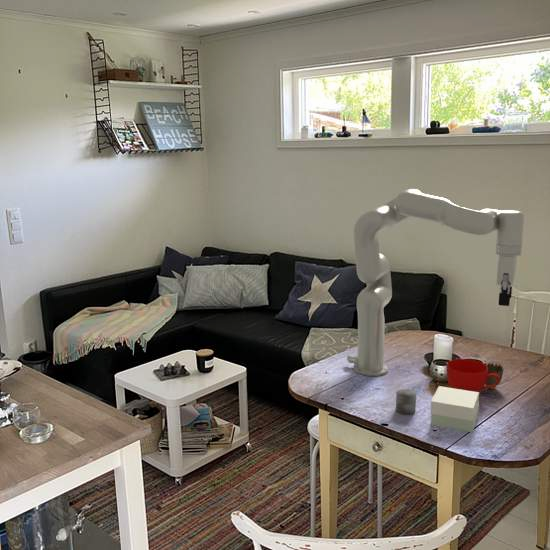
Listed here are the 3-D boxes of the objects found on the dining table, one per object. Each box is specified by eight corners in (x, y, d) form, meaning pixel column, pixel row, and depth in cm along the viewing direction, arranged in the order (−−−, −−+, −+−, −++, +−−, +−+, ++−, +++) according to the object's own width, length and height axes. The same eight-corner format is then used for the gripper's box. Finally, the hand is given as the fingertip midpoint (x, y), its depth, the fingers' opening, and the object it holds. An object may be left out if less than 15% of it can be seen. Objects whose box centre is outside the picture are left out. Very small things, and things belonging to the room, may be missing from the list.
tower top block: (430, 413, 178) (430, 401, 177) (438, 397, 188) (439, 386, 187) (472, 421, 173) (473, 408, 172) (478, 404, 183) (479, 392, 182)
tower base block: (430, 425, 179) (431, 413, 178) (438, 409, 189) (439, 397, 188) (472, 433, 174) (473, 421, 173) (478, 416, 184) (479, 404, 183)
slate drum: (393, 413, 186) (394, 395, 185) (398, 405, 192) (399, 387, 190) (412, 416, 184) (413, 398, 183) (417, 408, 189) (418, 390, 188)
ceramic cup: (493, 408, 188) (495, 378, 186) (440, 397, 197) (441, 368, 195) (502, 393, 199) (504, 365, 197) (451, 383, 208) (453, 356, 206)
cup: (503, 394, 199) (505, 371, 197) (480, 392, 200) (481, 370, 198) (500, 385, 206) (501, 363, 204) (477, 383, 207) (479, 361, 205)
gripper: (498, 244, 200) (494, 294, 204) (493, 253, 184) (490, 307, 188) (522, 245, 197) (518, 296, 201) (520, 255, 181) (515, 309, 185)
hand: (504, 301), depth 194 cm, fingers open, 9 cm apart
